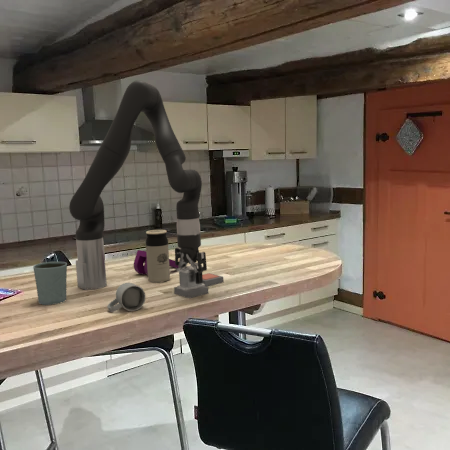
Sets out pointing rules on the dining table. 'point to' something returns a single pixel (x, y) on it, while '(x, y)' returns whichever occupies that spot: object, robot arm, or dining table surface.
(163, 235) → the travel mug
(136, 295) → the ceramic mug
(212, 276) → the stand right
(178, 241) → the robot arm
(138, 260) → the mounting bracket
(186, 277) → the housing
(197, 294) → the stand left
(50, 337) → the dining table surface
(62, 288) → the green tapered cup
